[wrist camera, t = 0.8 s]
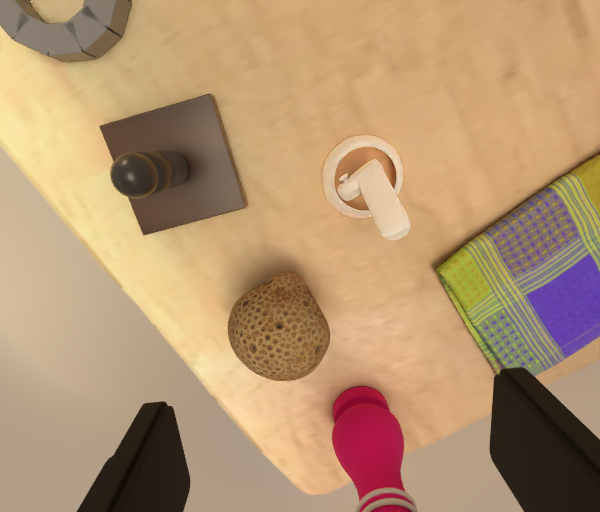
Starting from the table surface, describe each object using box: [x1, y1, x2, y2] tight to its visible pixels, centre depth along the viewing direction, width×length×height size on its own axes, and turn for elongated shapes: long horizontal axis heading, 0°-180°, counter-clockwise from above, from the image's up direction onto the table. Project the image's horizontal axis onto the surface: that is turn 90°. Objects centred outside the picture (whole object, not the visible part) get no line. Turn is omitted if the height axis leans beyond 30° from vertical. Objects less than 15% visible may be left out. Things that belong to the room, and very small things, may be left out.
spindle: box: [100, 94, 247, 235], centre depth 28 cm, size 10×10×12 cm
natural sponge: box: [228, 272, 330, 381], centre depth 33 cm, size 9×9×10 cm
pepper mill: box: [332, 387, 418, 512], centre depth 32 cm, size 7×7×20 cm
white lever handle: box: [322, 135, 410, 241], centre depth 32 cm, size 8×12×7 cm
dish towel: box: [436, 154, 600, 377], centre depth 36 cm, size 18×24×3 cm
